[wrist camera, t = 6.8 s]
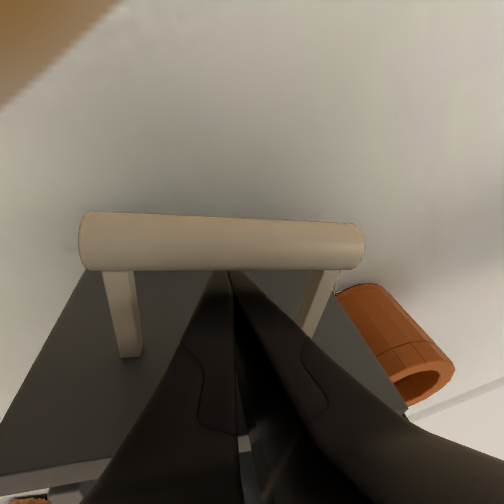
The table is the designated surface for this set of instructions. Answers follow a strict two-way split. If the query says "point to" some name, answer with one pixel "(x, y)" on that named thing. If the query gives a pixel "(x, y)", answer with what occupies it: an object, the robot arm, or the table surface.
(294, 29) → the table surface
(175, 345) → the drawer
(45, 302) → the table surface
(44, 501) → the bird sculpture
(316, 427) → the robot arm
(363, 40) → the table surface
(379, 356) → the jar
